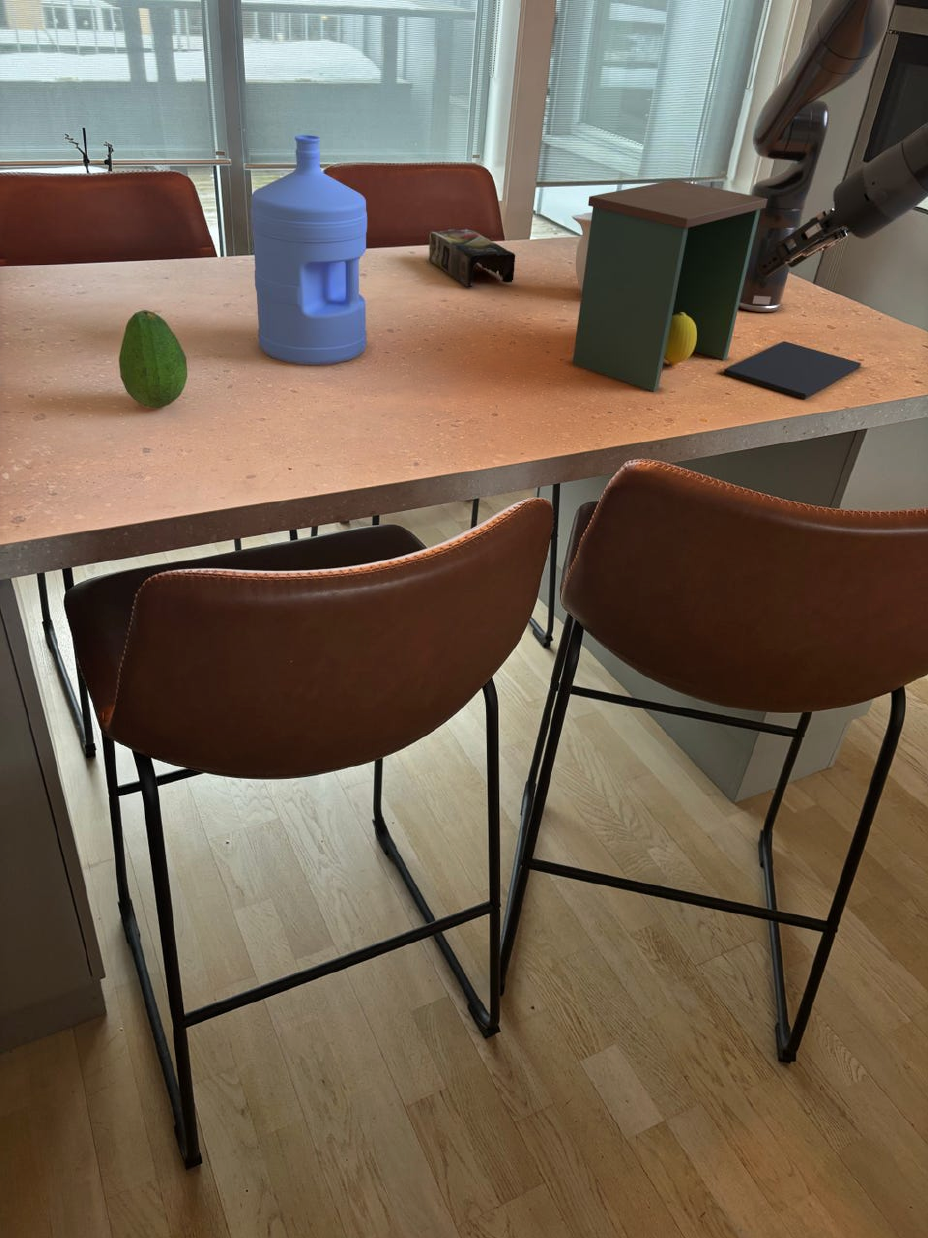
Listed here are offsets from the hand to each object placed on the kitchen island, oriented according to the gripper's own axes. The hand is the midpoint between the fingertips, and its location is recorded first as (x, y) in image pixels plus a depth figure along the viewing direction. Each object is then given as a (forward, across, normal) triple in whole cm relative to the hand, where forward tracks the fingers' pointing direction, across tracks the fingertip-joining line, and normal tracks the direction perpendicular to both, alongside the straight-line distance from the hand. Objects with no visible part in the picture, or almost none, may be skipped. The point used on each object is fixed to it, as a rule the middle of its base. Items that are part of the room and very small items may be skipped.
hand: (773, 266), depth 127 cm
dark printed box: (+58, -13, -33) cm, 68 cm away
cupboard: (+22, +1, +2) cm, 22 cm away
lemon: (+21, 0, +4) cm, 21 cm away
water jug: (+48, +37, -24) cm, 65 cm away
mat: (+11, -13, +13) cm, 21 cm away
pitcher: (+40, -22, -15) cm, 48 cm away
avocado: (+46, +66, -21) cm, 83 cm away
